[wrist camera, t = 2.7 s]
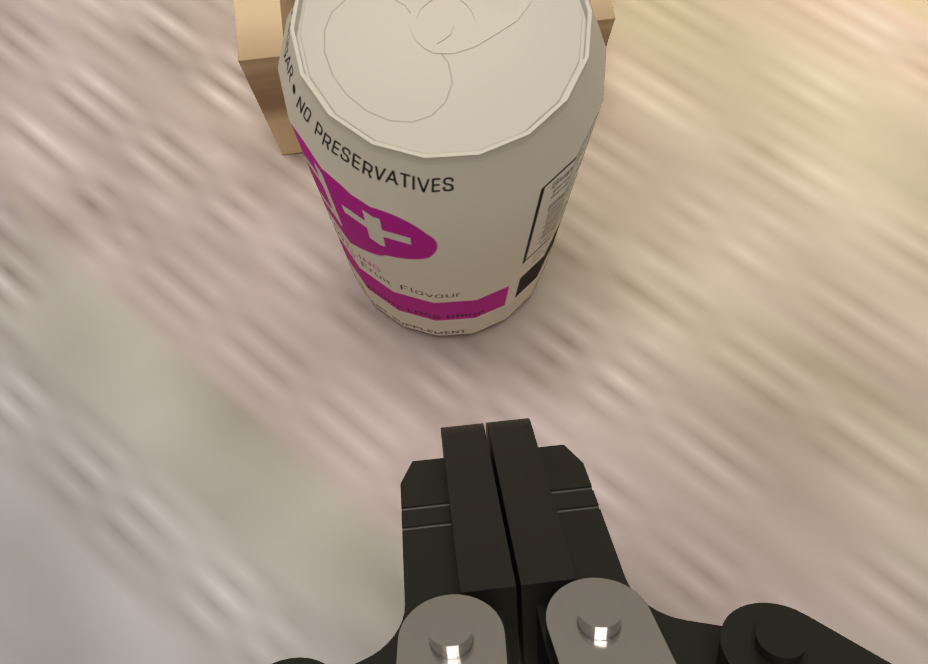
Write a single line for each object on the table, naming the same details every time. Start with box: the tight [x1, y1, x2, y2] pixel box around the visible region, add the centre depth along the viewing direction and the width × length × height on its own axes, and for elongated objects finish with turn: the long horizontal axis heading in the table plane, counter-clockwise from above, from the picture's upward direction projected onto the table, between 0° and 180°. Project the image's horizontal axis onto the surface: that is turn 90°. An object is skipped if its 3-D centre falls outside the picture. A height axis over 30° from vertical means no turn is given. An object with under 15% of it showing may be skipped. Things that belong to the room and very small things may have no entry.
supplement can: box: [278, 0, 606, 336], centre depth 25 cm, size 8×8×15 cm
